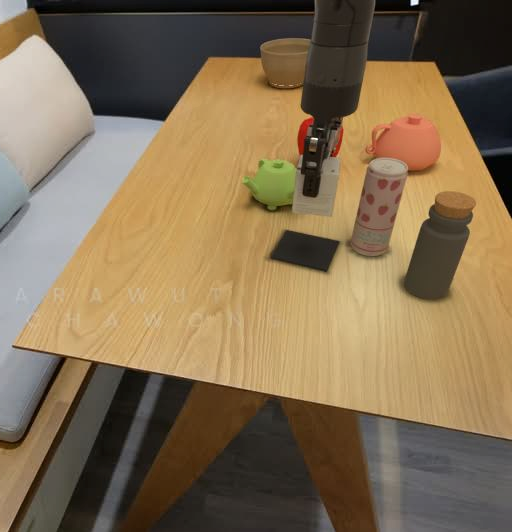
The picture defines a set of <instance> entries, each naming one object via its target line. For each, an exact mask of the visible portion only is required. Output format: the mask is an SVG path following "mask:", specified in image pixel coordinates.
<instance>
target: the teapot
mask: <svg viewBox="0 0 512 532" xmlns="http://www.w3.org/2000/svg"><path fill="white" fill-rule="evenodd" d="M296 170H297V167H296V166H295V165H294V164H293V163H292V162H290V161H286V160H284V159H282V158H276V159H273V160H269V159H268V158H261V159H259V161H258V170H257V171H256V172H255V174H254V175H253V178H251V176H249V175H246V176H244V177H242V180H241V182H242V184H243V185H244V186H245V187H246V188H247V189H248V190H250V193H251V195H252V196H253V198H254V199H255V200H256V201H258V202H259V203H261V204H264V205H267V206H266V208H267V210H270V211H275V210H276V209H277V207H280V206H281V207H282V206H287V205H293V196H294V186H295V176H296Z"/></svg>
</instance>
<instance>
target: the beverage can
mask: <svg viewBox="0 0 512 532" xmlns="http://www.w3.org/2000/svg"><path fill="white" fill-rule="evenodd" d="M408 171H409V170H408V167H407V165H406V164H405V163H404V162H402V161H400V160H397V159H393V158H378V159H377V158H374V159H372V160H371V161H369V163H368V166H367V168H366V171H365V175H364V179H363V185H362V189H361V193H360V198H359V202H358V206H357V211H356V216H355V219H354V224H353V228H352V234H351V237H350V243H349V244H350V247H351V248H352V250H354V252H356V253H358V254H360V255H362V256H368V257H378V256H381V255H383V254H384V253H386V252H387V251H388V249H389V245H390V242H391V238H392V234H393V230H394V228H395V227H394V226H395V223H396V219H397V216H398V213H399V212H398V211H399V208H400V204H401V202H402V201H401V200H402V197H403V193H404V189H405V186H406V182H407V179H408V175H409V172H408Z"/></svg>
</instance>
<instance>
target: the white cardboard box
mask: <svg viewBox="0 0 512 532" xmlns="http://www.w3.org/2000/svg"><path fill="white" fill-rule="evenodd" d="M302 158H303V155H299V159H298V164H297V166H296V176H295V186H294V196H293V204H291V205H292V207H291V214H296V215H297V214H298V215H308V216H319V217H329V218H330V217H331V218H332V217H333V214H334V209H335V202H336V196H337V191H338V185H339V179H340V174H341V173H340V172H341V171H340V170H341V157H338V156H336V157H330V158H329V159H328V160H326V161H325V164H324V168H323V170H324V171H323V174H322V176H321V182H320V188H319V194H318V196H317V197H316V198H312V197H307V196H304V195H303V194H302V191H303V184H304V177H305V175H301V172H300V171H301V167H302ZM310 166H316V163H315V162H310Z"/></svg>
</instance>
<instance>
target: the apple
mask: <svg viewBox="0 0 512 532" xmlns="http://www.w3.org/2000/svg"><path fill="white" fill-rule="evenodd" d="M313 120H314V118H313V117H312V116H311V117H308V118H306V119H304V120H302V122H301V123H300V125H299V129H298V131H297V139H296V140H297V141H296V142H297V148H298V149H297V150H298V155H299V156H300V155H303V150H304V139H305V137H306V136H307V132H308V127H309V125H310V124H313ZM344 130H345V129H344V125H342V128H341V131H340V139H339V143H338V145H336V151H335V152H334V154H333V153H331V154H333V157H338V154H339V152H340V150H341V146H342V143H343V138H344Z"/></svg>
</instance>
